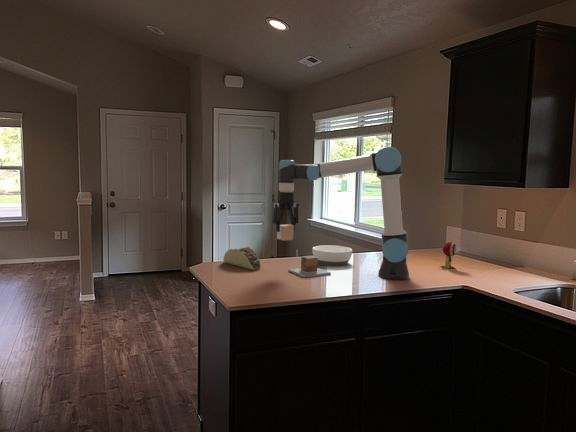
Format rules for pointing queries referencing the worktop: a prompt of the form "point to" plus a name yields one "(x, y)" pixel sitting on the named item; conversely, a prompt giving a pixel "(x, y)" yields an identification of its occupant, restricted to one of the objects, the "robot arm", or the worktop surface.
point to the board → (309, 274)
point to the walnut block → (309, 263)
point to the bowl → (332, 255)
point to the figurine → (448, 255)
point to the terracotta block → (287, 232)
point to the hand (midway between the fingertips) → (285, 237)
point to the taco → (243, 258)
